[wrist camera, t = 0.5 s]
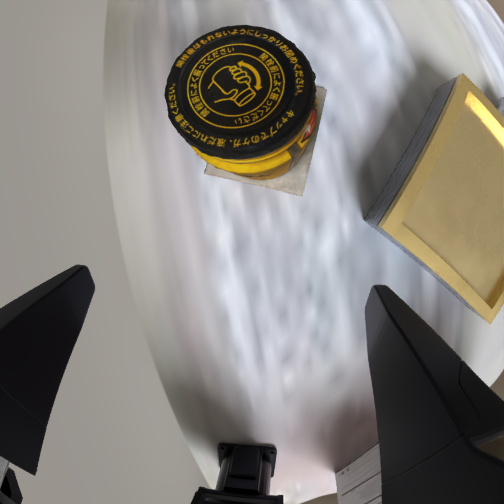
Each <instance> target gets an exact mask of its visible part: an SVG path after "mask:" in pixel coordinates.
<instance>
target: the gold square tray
mask: <svg viewBox="0 0 504 504" xmlns="http://www.w3.org/2000/svg"><path fill="white" fill-rule="evenodd" d="M364 221H365V222H367V223H368V224H369V225H371V226H372V227H373V228H375V229H376V230H377V231H379V232H380V233H381V234H382V235H384V236H385V237H386V238H388V239H389V240H390V241H391V242H393V243H394V244H395V245H397V246H398V247H399V248H400V249H402V250H403V251H404V252H405V253H407V254H408V255H409V256H410V257H411V258H413V259H414V260H415V261H416V262H417V263H419V264H420V265H421V266H422V267H423V268H425V269H426V270H427V271H428V272H429V273H430V274H432V275H433V276H434V277H435V278H436V279H437V280H438V281H440V282H441V283H442V284H443V285H444V286H445V287H446V288H447V289H449V290H450V291H451V292H452V293H453V294H454V295H455V296H456V297H457V298H458V299H459V300H461V301H462V302H463V303H464V304H465V305H466V306H467V307H468V308H469V309H471V310H472V311H473V312H475V313H476V314H477V315H479V316H480V317H481V318H482V319H484V320H485V321H486V322H488V323H489V324H491V323H492V321H493V320H494V318H495V317H496V315H497V314H498V312H499V310H500V309H501V307H502V306H503V304H504V97H502V98H500V99H499V100H498V102H497V105H496V107H495V106H494V105H493V104H492V103H491V102H490V101H489V100H488V98H487V97H486V96H485V95H484V94H483V93H482V92H481V91H480V90H479V89H478V88H477V87H476V86H475V85H474V84H473V83H472V82H471V81H470V80H469V79H468V78H467V77H466V76H465V75H464V74H461V75H459V76H458V77H456V78H454V79H452V80H451V81H449V82H447V83H445V84H444V85H442V86H440V87H439V89H438V91H437V93H436V95H435V97H434V99H433V101H432V103H431V105H430V107H429V109H428V111H427V113H426V115H425V117H424V119H423V121H422V122H421V124H420V126H419V128H418V130H417V132H416V134H415V135H414V137H413V139H412V141H411V143H410V145H409V146H408V148H407V150H406V152H405V153H404V155H403V157H402V159H401V160H400V162H399V164H398V166H397V167H396V169H395V171H394V172H393V174H392V176H391V178H390V179H389V181H388V183H387V184H386V186H385V188H384V189H383V191H382V192H381V194H380V196H379V197H378V199H377V201H376V202H375V204H374V205H373V207H372V208H371V210H370V212H369V213H368V215H367V216H366V218H365V219H364Z"/></svg>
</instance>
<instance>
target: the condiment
mask: <svg viewBox="0 0 504 504" xmlns="http://www.w3.org/2000/svg"><path fill="white" fill-rule="evenodd" d="M315 78H316V76H315V73H314V72H313V71H312V68H311V66H310V63H309V61H308V60H307V58H306V57H305V55H304V54H303V52H302V51H300V50H299V49H298V48H297V47H296V46H295V44H294V43H292V42H291V41H289V40H287V39H286V38H285V37H283V36H282V35H281V34H279V33H278V32H276V31H273V30H270V29H266V28H263V27H254V26H249V25H237V26H227V27H222V28H219V29H217V30H215V31H212V32H209V33H207V34H205V35H203V36H201V37H199V38H198V39H196V40H195V41H194V42H193V43H192V44H191V45H190V46H189V47H188V48H186V49H185V50H184V52H183V53H182V54H181V55H180V56H179V57H177V59H176V60H175V62H174V64H173V66H172V68H171V71H170V74H169V76H168V79H167V85H166V88H165V99H166V103H167V107H168V117H169V119H170V121H171V123H172V124H173V126H174V127H175V128H176V130H177V131H178V133H180V135H181V136H182V137H183V138H184V139H185V140H186V142H187V143H189V144H190V145H191V147H192V148H193V149H194V151H195V152H196V153H197V155H199V156H200V157H201V158H202V159H204V160H205V161H206V162H207V167H206V171H205V174H207V175H212V176H217V177H221V178H226V179H231V180H235V181H240V182H244V183H249V184H253V185H257V186H262V187H266V188H270V189H274V190H278V191H282V192H286V193H290V194H294V195H298V196H303V192H304V188H305V183H306V179H307V175H308V171H309V167H310V162H311V158H312V154H313V150H314V145H315V141H316V137H317V133H318V128H319V124H320V120H321V115H322V110H323V106H324V101H325V96H326V92H327V89H324V88H320V87H316V86H315V82H314V81H315Z"/></svg>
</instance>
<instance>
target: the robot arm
mask: <svg viewBox="0 0 504 504" xmlns="http://www.w3.org/2000/svg"><path fill="white" fill-rule="evenodd" d="M94 291H95V284H94V281H93V279H92V277H91V274H90V271H89V269H88V267H87V266H85V265H75V266H73V267H71V268H69V269H67V270H66V271H64V272H62V273H60V274H58V275H56V276H55V277H53V278H51V279H49V280H48V281H46V282H44V283H42V284H40V285H39V286H37V287H35V288H34V289H32V290H30V291H28V292H27V293H25V294H23V295H22V296H20V297H18V298H17V299H15V300H13V301H12V302H10V303H8V304H7V305H5V306H4V307H2V308H0V504H21V502H22V499H23V497H22V494H21V492H20V489H19V486H18V482H17V479H16V476H15V473H14V471H13V470H12V469H11V468H9V467H8V466H9V463H10V462H11V463H12V464H14V465H16V466H18V467H19V468H21V469H23V470H25V471H27V472H29V473H30V474H32V475H34V476H35V474H36V471H37V467H38V462H39V457H40V453H41V448H42V444H43V440H44V436H45V432H46V427H47V424H48V421H49V417H50V414H51V410H52V407H53V404H54V401H55V398H56V394H57V392H58V389H59V385H60V383H61V380H62V377H63V374H64V372H65V369H66V366H67V363H68V361H69V358H70V356H71V353H72V350H73V348H74V346H75V343H76V341H77V338H78V336H79V333H80V331H81V328H82V326H83V323H84V320H85V317H86V314H87V311H88V308H89V305H90V302H91V299H92V297H93V294H94ZM365 321H366V334H367V351H368V361H369V368H370V374H371V381H372V387H373V395H374V402H375V410H376V419H377V428H378V439H379V451H380V466H381V483H382V484H381V493H382V504H504V401H503V400H502V399H501V398H500V397H499V396H498V395H497V394H496V393H494V392H493V391H492V390H491V389H490V388H489V387H488V386H487V385H486V384H485V383H484V382H483V381H482V380H481V379H480V378H479V377H478V376H477V375H476V374H475V372H474V371H473V370H472V369H471V368H470V367H469V366H468V365H467V364H466V363H465V362H464V361H463V360H462V361H461V358H460V357H459V356H458V355H457V354H456V353H455V351H454V350H453V349H452V348H451V347H450V346H449V345H448V344H447V343H446V342H445V341H444V340H443V339H442V338H441V337H440V336H439V335H438V334H437V333H436V332H435V331H434V330H433V329H432V328H431V327H430V326H429V325H428V324H427V323H426V322H425V321H424V320H423V319H422V318H421V317H420V316H419V315H418V314H416V313H415V312H414V311H413V310H412V309H411V308H410V307H409V306H408V305H407V304H406V303H405V302H404V301H403V300H402V299H401V298H400V297H399V296H397V295H396V294H395V293H394V292H393V291H392V290H391V289H390V288H389V287H388V286H386V285H373V286H372V288H371V290H370V294H369V297H368V300H367V303H366V306H365ZM218 453H219V462H220V473H219V477H218V481H217V485H216V489H215V490H213V489H207V488H205V487H199V489H198V491H197V492H196V493H195V495H194V497H193V500H192V502H191V504H283V495H278V496H275V495H269V492H270V479H271V477H273V476H274V469H275V462H276V455H277V449H276V448H273V447H256V446H243V445H233V444H225V443H220V444H219V445H218Z"/></svg>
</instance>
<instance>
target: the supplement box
mask: <svg viewBox="0 0 504 504" xmlns="http://www.w3.org/2000/svg"><path fill="white" fill-rule="evenodd" d="M335 477H336V485H337V494H338V504H382V493H381V484H382V483H381V466H380V451H379V443H378V444H377V445H375V446H374V447H373V448H371V449H370V450H369V451H367V452H366V453H365V454H363V455H362V456H361V457H359V458H358V459H356V460H355V461H354V462H352V463H351V464H349V465H348V466H346V467H345V468H344V469H342V470H341V471H339V472H337V473H336V474H335Z"/></svg>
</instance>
